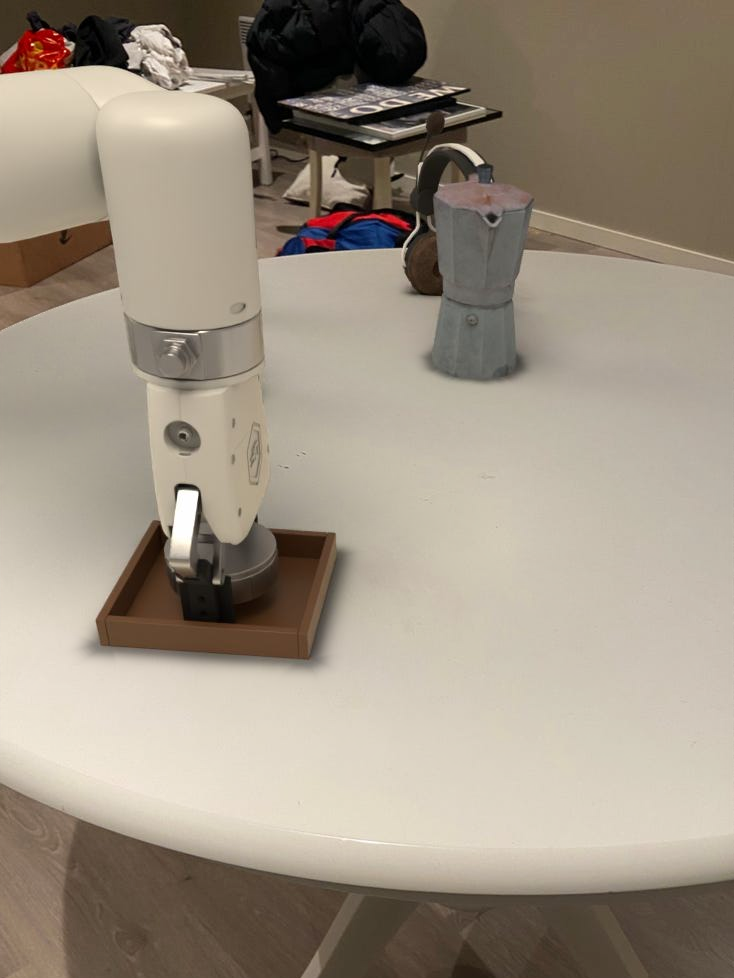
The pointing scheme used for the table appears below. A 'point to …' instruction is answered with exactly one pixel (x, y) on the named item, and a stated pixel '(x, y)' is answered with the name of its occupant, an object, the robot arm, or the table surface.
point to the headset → (432, 208)
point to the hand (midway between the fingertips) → (224, 591)
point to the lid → (240, 563)
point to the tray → (259, 622)
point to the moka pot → (479, 274)
